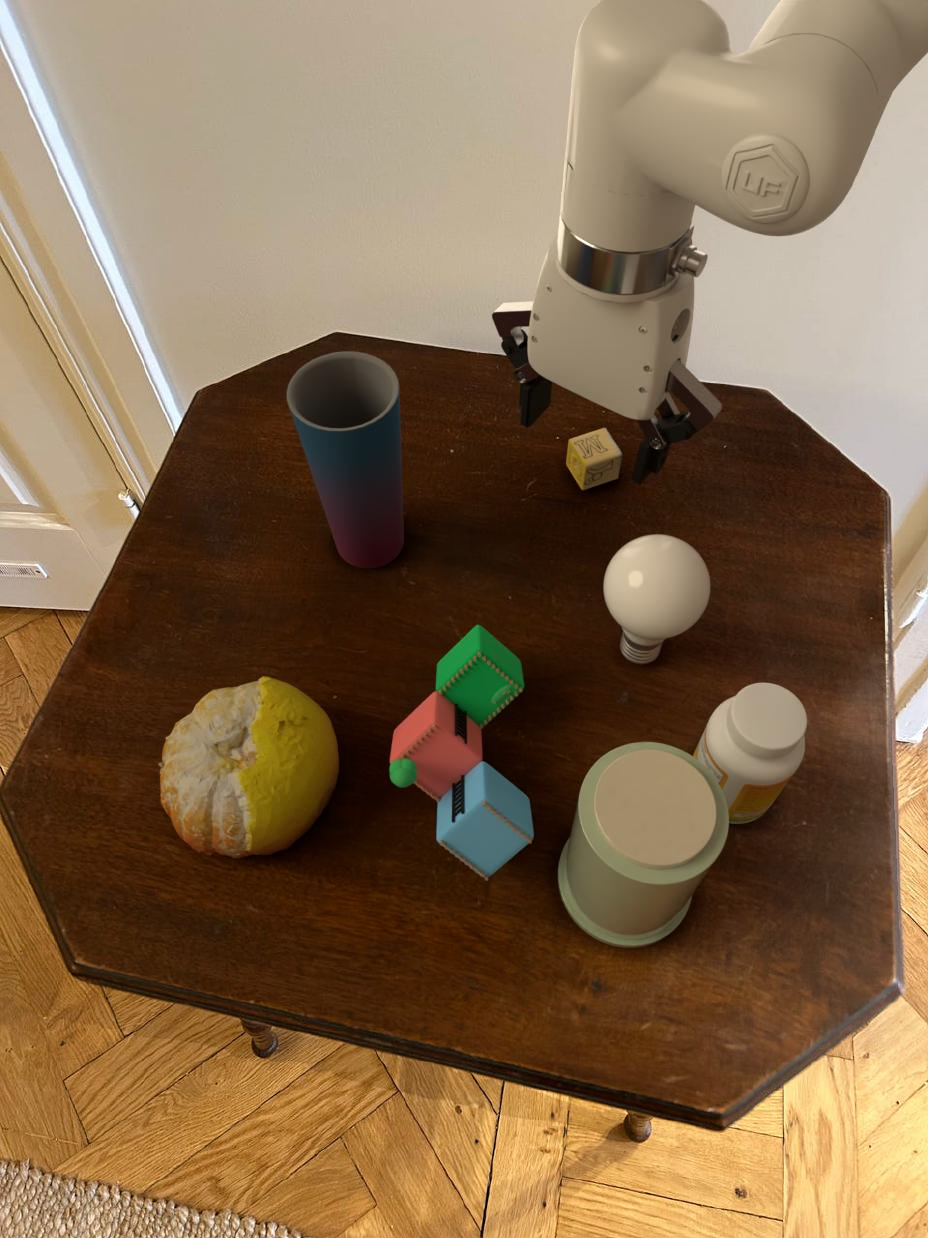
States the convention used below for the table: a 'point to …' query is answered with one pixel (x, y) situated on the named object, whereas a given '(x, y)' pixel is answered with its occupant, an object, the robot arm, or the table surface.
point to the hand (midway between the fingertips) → (589, 442)
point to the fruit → (249, 769)
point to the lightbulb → (655, 593)
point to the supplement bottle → (754, 747)
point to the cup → (353, 451)
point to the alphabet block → (593, 458)
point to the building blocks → (466, 754)
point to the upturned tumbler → (641, 843)
